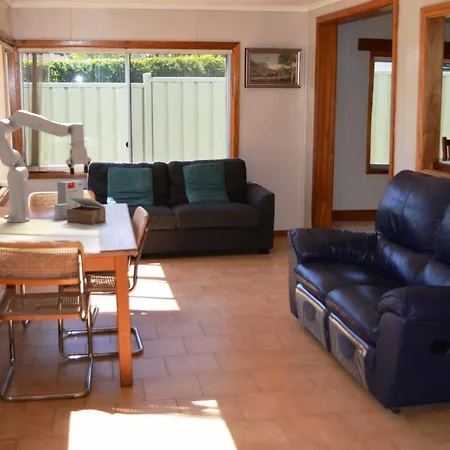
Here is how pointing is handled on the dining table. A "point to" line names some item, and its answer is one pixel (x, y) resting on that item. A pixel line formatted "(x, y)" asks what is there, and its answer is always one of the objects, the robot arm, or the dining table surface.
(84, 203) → the lid
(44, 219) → the dining table surface
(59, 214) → the medicine box
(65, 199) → the hard drive box
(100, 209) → the wooden box
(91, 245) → the dining table surface
